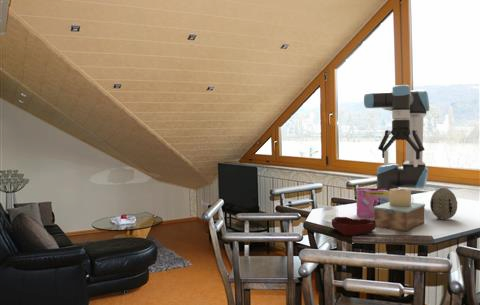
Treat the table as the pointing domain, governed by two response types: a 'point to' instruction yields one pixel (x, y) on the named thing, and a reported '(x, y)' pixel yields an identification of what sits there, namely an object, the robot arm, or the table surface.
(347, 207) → the table surface
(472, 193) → the table surface
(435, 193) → the decorative egg
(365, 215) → the gum box
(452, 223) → the table surface
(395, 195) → the beige rounded cone
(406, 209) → the lid
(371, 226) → the dark red bean shape
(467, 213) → the table surface
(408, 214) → the chest
